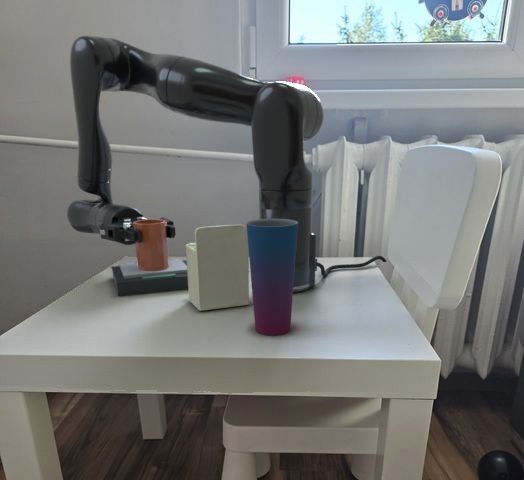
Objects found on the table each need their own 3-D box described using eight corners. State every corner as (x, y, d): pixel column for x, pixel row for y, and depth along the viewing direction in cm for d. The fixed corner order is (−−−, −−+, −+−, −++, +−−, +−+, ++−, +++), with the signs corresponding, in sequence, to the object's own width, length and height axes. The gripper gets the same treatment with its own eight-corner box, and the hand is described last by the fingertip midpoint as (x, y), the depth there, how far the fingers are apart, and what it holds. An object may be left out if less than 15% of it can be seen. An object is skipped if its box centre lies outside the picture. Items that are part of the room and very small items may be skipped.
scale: (187, 271, 103) (186, 257, 102) (201, 287, 92) (200, 271, 91) (113, 278, 99) (111, 263, 98) (118, 296, 88) (116, 279, 86)
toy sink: (234, 293, 88) (232, 217, 83) (250, 305, 82) (248, 224, 77) (187, 299, 85) (182, 221, 80) (200, 312, 79) (194, 228, 73)
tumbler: (167, 262, 98) (163, 218, 94) (172, 269, 93) (168, 222, 89) (136, 265, 96) (131, 220, 93) (140, 272, 91) (134, 225, 88)
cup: (300, 323, 73) (302, 219, 68) (290, 339, 67) (291, 227, 62) (256, 319, 75) (254, 217, 69) (242, 335, 69) (239, 225, 63)
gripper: (82, 208, 97) (116, 217, 85) (150, 202, 105) (190, 209, 93) (88, 246, 100) (121, 260, 87) (153, 237, 108) (192, 249, 95)
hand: (156, 234), depth 90 cm, fingers closed on tumbler, 6 cm apart
